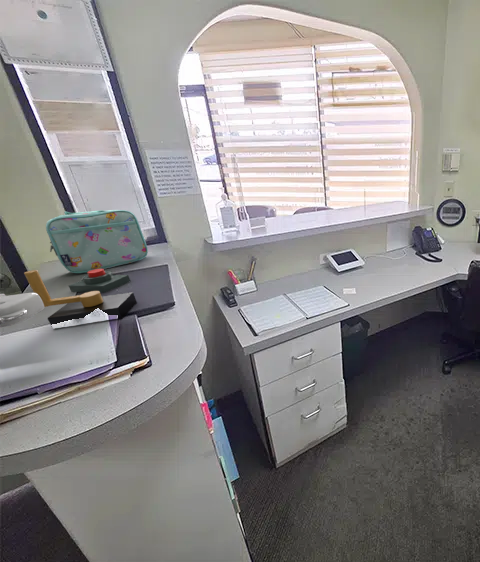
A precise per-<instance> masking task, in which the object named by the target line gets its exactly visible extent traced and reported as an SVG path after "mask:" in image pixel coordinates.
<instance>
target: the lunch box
mask: <svg viewBox="0 0 480 562" xmlns="http://www.w3.org/2000/svg"><path fill="white" fill-rule="evenodd" d="M45 230H46V233H47V235H48V238H49V244H50V247H49V253H52V251H54V254H55V256H56V257H57V259H58V260H59V263H60V264H61V265H62V266H63V267H64V268H65V269H66V270H67V271H68V272H70V273H72V274H85V273H87V272H88V271H91V270H95V269H104V270H106V269H110V268H116V267H119V266H123V265H127V264H131V263H135V262H138V261H141V260H143V259H145V258H146V257H147V256H148V254H149V249H148V245H147V242H146V240H145V235H144V234H143V231H142V228H141V225H140V222H139V220H138V218H137V216H136V215H135V214H134V213H133V212H131V211H129V210H126V209H109V210H108V209H107V210H93V211H79V212H69V211H64V214H60V215H58V216H55V217H52V218H50V219H48V220H47V221H46V224H45Z"/></svg>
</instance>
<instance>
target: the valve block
mask: <svg viewBox="0 0 480 562" xmlns="http://www.w3.org/2000/svg"><path fill="white" fill-rule="evenodd" d="M101 296H102V295H101ZM102 299H103V302H102V303H101V304H99V305H96V306H92V307H83V305H82V303H81V302H74V303H67V304H64V305H63V306H62V307H61V308H59V309H57V311H55V312H53V313H52V314H51V315H50V316H48V317H47V320H48V322H49V325H50V326H51V325H52V324H57V323H60V322H64V321H68V320H72V319H79V318H84V317H85V316H86V315H88V314H90V313H91V312H93V311H94V310H95V309H97V308H99V309H100V310H102V311H103V312H105V313H107V314H108V315H118V320H123V319H124V318H125V316H127V314H128V313H129V312H130V311H131V310H132V309H133V307H134V306H135V305H136V304H137V303H138V301H137V299H136V296H135V293H134V292H133V291H132V292H125V293H117V294H109V295H103V296H102Z"/></svg>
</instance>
